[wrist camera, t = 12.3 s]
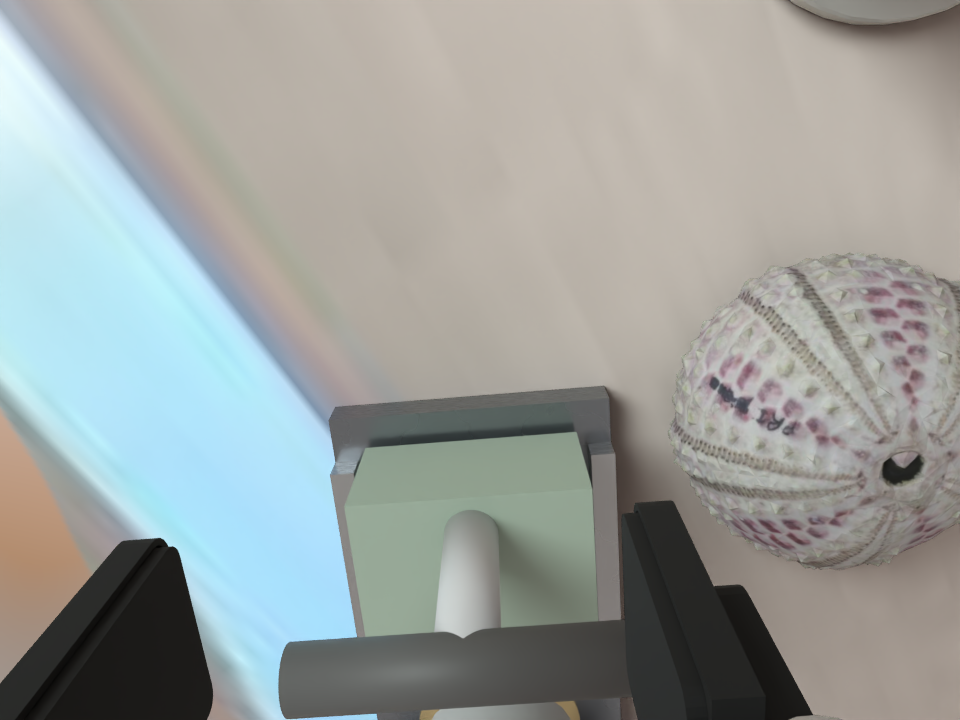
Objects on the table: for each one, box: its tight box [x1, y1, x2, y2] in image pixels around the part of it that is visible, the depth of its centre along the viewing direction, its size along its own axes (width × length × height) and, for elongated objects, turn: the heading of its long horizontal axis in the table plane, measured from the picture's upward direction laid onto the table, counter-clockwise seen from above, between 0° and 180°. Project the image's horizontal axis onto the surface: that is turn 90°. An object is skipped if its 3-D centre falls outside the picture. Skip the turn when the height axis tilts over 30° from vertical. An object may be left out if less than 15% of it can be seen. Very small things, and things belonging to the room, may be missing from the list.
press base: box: [329, 386, 621, 720], centre depth 33 cm, size 12×26×10 cm, turn 5°
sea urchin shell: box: [668, 253, 960, 570], centre depth 30 cm, size 13×14×8 cm
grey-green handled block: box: [279, 432, 632, 719], centre depth 27 cm, size 10×6×13 cm, turn 95°
